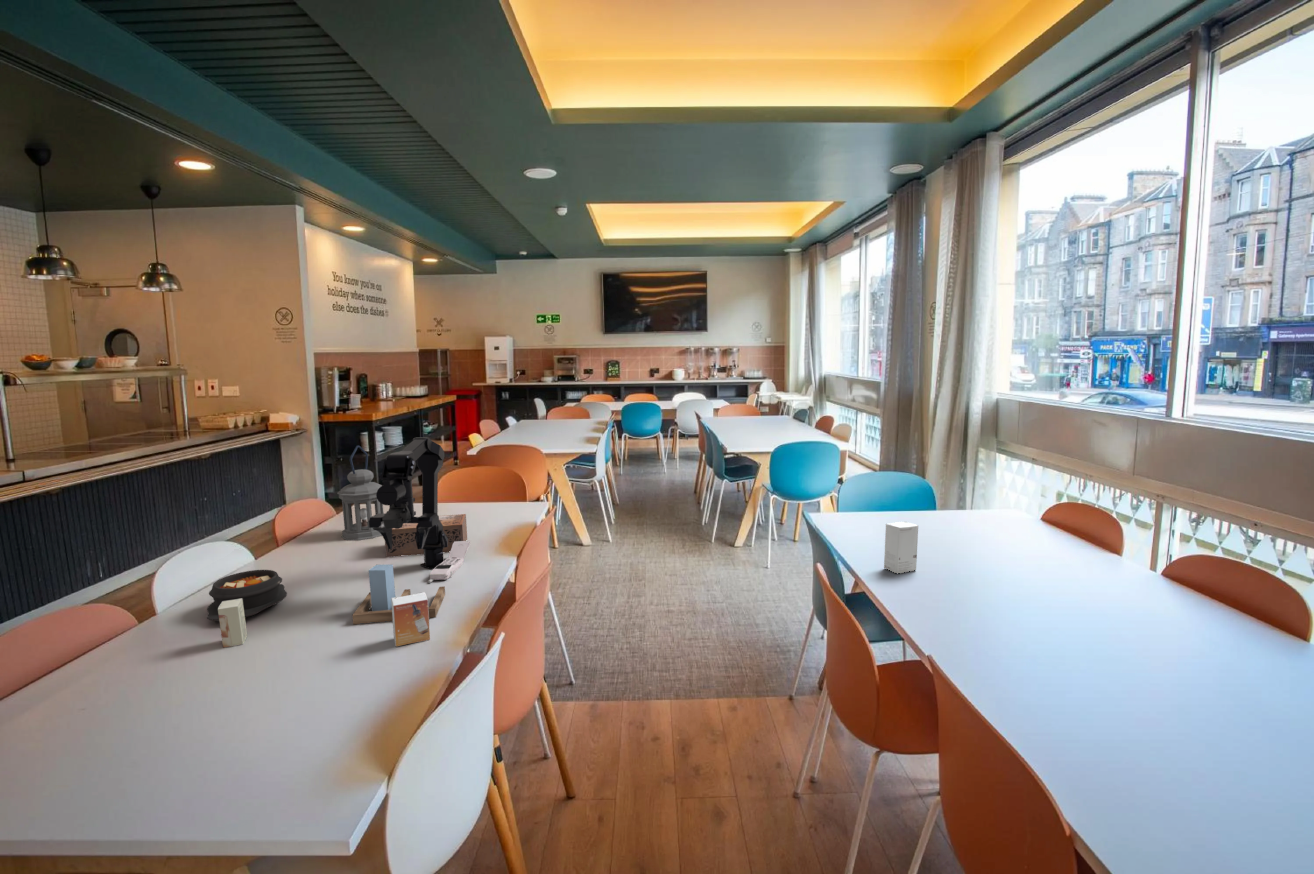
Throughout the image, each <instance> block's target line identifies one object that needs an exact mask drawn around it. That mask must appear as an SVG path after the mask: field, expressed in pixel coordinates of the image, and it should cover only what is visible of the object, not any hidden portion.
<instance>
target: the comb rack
mask: <svg viewBox="0 0 1314 874" xmlns="http://www.w3.org/2000/svg"><path fill="white" fill-rule="evenodd" d="M408 595H412V594H411V589H410V588H407V589H404V590H403V592H402V593H401V595H400V597H402V596H408ZM445 597H446V587H445V586H439V587H438V589H437V591H436V593H435V595H434V598H433V600H432V602H431V603H430V606H428V611H429V619H432V618H437V615H438V613H439V610H440V608H441V605H442V603H443V601H444V599H445ZM370 609H372V605H371V593H370V591H369V592H368V594H367V595H366V596H365V598H364V599H363V600H362V601H361V603H360V604H359V606H358V607H357V608H356V610H355V611H354V612H353V614H352V625H361V624H360V623H364V624H371V623H370V622H375V623H383V622H384V623H385V621H387V622H393V617H392V610H383V611H372V610H371V611H370Z"/></svg>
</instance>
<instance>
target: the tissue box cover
mask: <svg viewBox="0 0 1314 874" xmlns="http://www.w3.org/2000/svg"><path fill="white" fill-rule="evenodd" d="M438 516H439V520H440V522H441V523H442V525H443V531H444V532H445V534H446V536H447V538H448V547H445V548H444V549H443V552H445V553H450V552H449V551H451V548H452V545H453V543H454V541H455V542H456V541H466V540H467V541H468V530H467V528H468V526H467V524H468V523H467V514H466V513H463V514H462V513H461V514H448V515H447V514H444V515H438ZM417 524H418V523H404V524H403V526H402V527H401V528H399V529H395V528H392V549H389V548H388V546H387V544H386V542H385V541H384V548H385V557H386V558H391V557H393V556H395V557H402V556H401V555H408V556H417V554H420V555H424V549H418V548H417V544H416V540H415V534H416V532H417V530H416V526H417Z"/></svg>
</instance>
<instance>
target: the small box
mask: <svg viewBox="0 0 1314 874" xmlns="http://www.w3.org/2000/svg"><path fill="white" fill-rule="evenodd" d="M391 603H392V617H393V621H392V629H393V631H392V632H393V640H394V645H395V647H399V646H405V645H409V644H410V645H411V644H414V643H420V642H426V640H427V641H430V640H431V629H430V618H429V611H428V607H429V600H428V597H427V594H426V592H424V591H423V592H419V593H413V594H411V595H408V596H402V597H401V596H397V597H396V596H395V598H391Z"/></svg>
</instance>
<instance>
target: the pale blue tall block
mask: <svg viewBox="0 0 1314 874" xmlns="http://www.w3.org/2000/svg"><path fill="white" fill-rule="evenodd" d="M368 578H369V579H368V581H369V592H370V593H371V605H372V606H371V611H383V610H392V603H391V598H395V597H396V589H395V587H396V586H395V576H394V564H376V565H374V566H373V567H370V569H368Z"/></svg>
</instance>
